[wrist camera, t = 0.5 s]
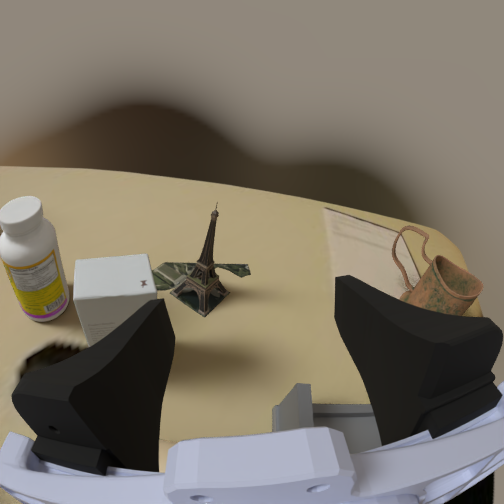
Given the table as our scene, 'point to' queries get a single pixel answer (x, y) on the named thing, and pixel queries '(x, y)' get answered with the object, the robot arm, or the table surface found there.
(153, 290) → the skincare box
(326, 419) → the holder
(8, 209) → the supplement bottle
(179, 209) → the table surface
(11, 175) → the table surface
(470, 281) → the mug
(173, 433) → the table surface
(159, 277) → the eiffel tower figurine
